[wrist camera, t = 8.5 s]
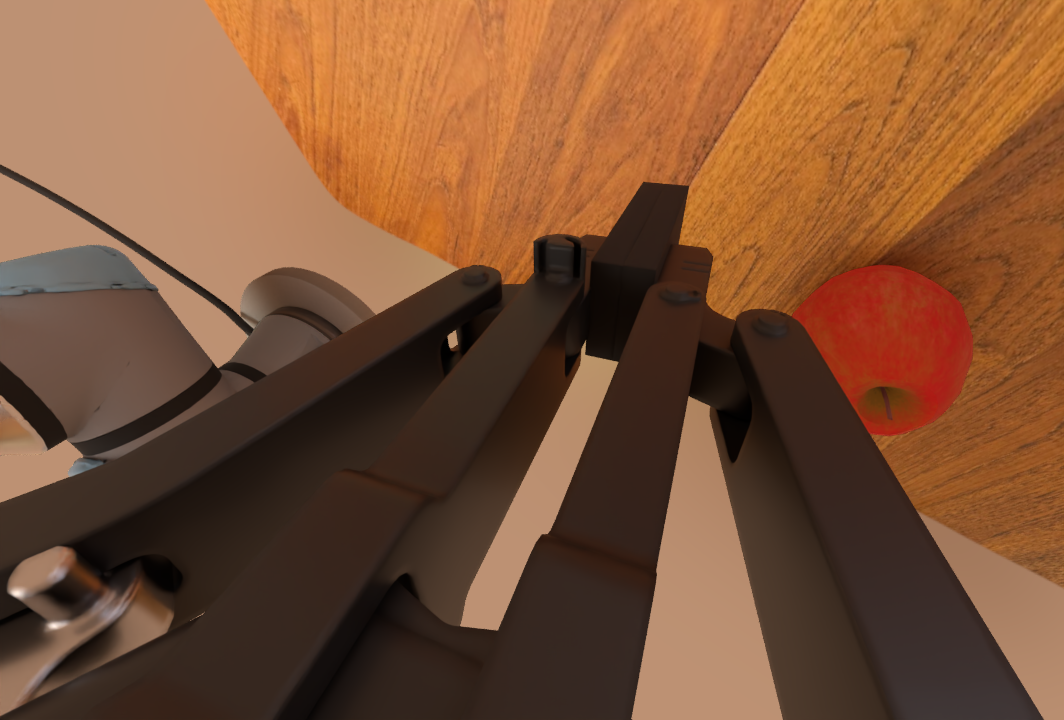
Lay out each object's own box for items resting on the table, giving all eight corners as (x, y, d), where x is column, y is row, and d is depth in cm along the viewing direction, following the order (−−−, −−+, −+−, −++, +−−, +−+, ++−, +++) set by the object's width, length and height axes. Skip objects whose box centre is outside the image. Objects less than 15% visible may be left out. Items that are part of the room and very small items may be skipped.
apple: (817, 224, 27) (844, 316, 19) (981, 260, 25) (1087, 379, 17) (759, 337, 32) (760, 447, 24) (890, 374, 30) (939, 506, 22)
